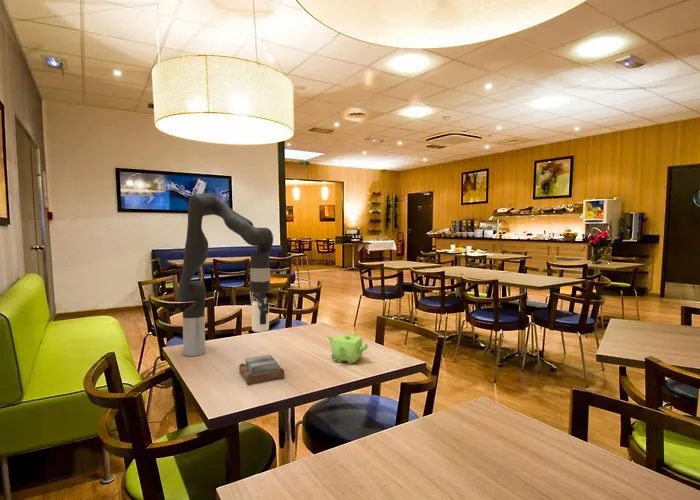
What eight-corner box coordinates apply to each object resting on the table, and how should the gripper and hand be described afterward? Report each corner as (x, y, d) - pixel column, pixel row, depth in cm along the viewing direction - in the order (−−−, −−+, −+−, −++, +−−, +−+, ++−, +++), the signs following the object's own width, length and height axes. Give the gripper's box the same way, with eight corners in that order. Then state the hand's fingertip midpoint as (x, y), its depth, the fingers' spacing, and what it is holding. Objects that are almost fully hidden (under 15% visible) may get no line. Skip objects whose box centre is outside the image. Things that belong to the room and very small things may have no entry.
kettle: (325, 357, 171) (325, 332, 170) (354, 353, 177) (354, 329, 176) (338, 368, 157) (338, 341, 157) (369, 363, 163) (369, 337, 163)
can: (264, 332, 145) (264, 301, 144) (248, 331, 146) (248, 300, 145) (271, 328, 151) (271, 298, 150) (256, 327, 153) (256, 297, 152)
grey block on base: (239, 372, 153) (239, 357, 152) (273, 366, 159) (273, 352, 159) (247, 385, 140) (247, 369, 140) (284, 378, 147) (284, 363, 147)
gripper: (245, 277, 152) (246, 319, 153) (255, 282, 139) (255, 327, 140) (264, 276, 156) (264, 317, 157) (275, 281, 143) (275, 325, 144)
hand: (260, 322), depth 148 cm, fingers closed on can, 6 cm apart
